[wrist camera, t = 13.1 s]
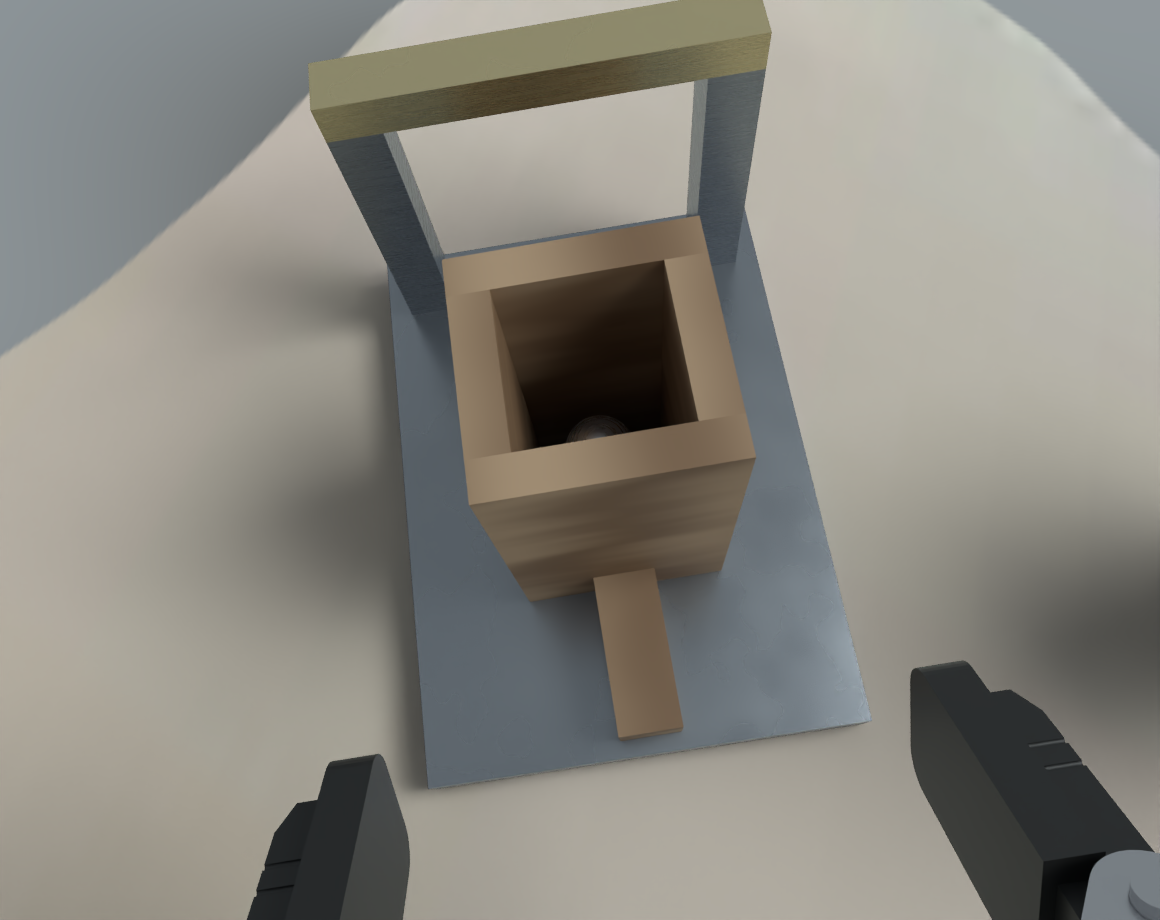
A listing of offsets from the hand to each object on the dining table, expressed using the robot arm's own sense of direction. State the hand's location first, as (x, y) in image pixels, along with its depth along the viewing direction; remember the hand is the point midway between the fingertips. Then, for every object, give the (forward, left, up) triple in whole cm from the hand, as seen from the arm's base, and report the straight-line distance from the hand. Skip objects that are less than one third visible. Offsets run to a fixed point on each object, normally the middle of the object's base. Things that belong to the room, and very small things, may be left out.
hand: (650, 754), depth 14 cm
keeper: (-5, +7, -14) cm, 17 cm away
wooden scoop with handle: (-4, +5, -13) cm, 15 cm away
